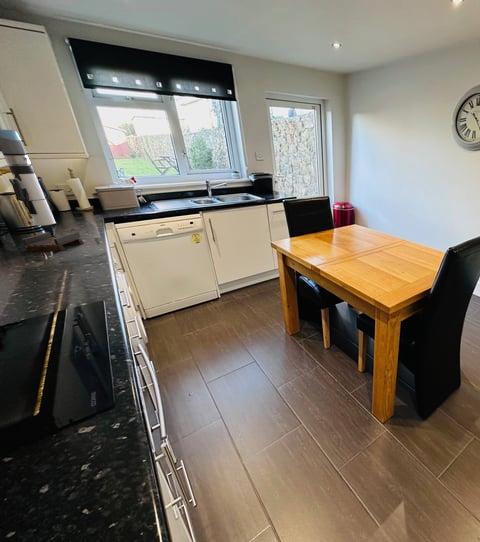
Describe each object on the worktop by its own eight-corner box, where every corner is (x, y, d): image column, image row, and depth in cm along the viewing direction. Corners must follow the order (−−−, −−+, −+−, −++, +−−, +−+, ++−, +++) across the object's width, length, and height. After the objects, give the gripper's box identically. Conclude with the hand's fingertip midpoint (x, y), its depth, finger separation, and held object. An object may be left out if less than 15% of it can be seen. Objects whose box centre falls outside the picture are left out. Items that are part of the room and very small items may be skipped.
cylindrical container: (53, 224, 146) (32, 174, 136) (34, 226, 142) (10, 174, 132) (57, 221, 151) (36, 172, 141) (38, 223, 148) (15, 173, 138)
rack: (27, 252, 145) (21, 239, 142) (52, 244, 158) (47, 232, 155) (61, 252, 146) (56, 239, 144) (83, 243, 159) (78, 231, 156)
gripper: (6, 166, 127) (29, 216, 136) (47, 164, 145) (65, 208, 154) (-12, 166, 126) (12, 216, 135) (31, 163, 144) (50, 208, 153)
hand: (40, 212), depth 144 cm, fingers closed on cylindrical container, 7 cm apart
